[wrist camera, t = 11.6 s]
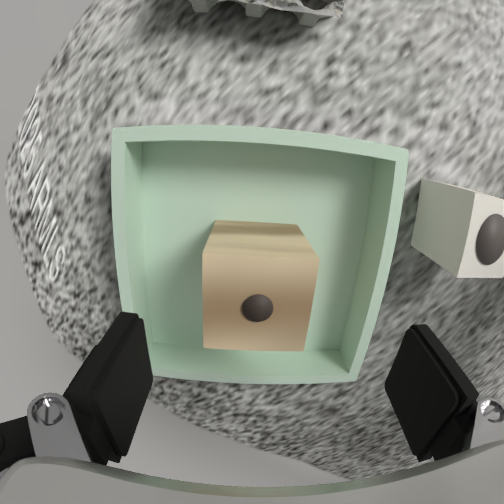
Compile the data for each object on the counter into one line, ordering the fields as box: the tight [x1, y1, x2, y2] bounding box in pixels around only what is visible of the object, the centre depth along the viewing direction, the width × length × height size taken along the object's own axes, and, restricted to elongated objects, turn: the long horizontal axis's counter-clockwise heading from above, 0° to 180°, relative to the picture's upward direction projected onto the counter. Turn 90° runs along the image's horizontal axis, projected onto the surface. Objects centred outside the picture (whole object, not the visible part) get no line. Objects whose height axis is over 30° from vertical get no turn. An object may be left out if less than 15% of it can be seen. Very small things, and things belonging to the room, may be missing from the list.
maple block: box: [202, 220, 320, 351], centre depth 16 cm, size 5×5×6 cm
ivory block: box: [411, 178, 504, 278], centre depth 16 cm, size 5×5×6 cm
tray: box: [111, 125, 409, 384], centre depth 18 cm, size 16×16×4 cm
